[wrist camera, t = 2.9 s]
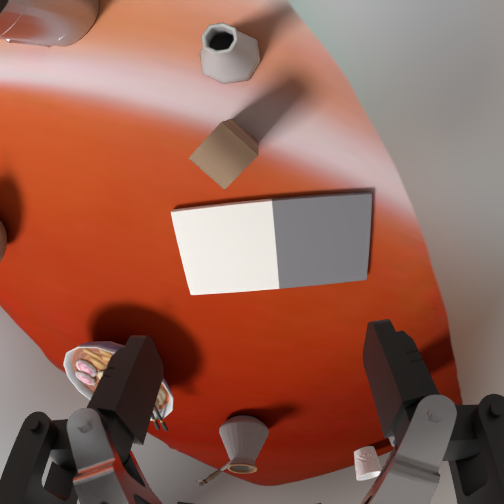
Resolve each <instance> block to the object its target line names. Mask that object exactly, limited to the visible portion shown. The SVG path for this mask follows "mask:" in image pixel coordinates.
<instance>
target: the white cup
mask: <svg viewBox="0 0 504 504" xmlns="http://www.w3.org/2000/svg"><path fill="white" fill-rule="evenodd" d="M354 456H355V468H356V477H357V480H367V479H371V478H374V477H376V476H378V475H379V474H380V472H381V467H380V464H379V460H378V457H377V454H376V451H375V448H374V447H373V446H366V447H363V448H360V449H358V450H356V451H355V452H354Z"/></svg>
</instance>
